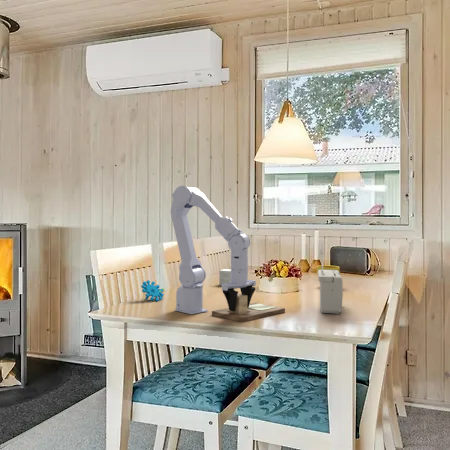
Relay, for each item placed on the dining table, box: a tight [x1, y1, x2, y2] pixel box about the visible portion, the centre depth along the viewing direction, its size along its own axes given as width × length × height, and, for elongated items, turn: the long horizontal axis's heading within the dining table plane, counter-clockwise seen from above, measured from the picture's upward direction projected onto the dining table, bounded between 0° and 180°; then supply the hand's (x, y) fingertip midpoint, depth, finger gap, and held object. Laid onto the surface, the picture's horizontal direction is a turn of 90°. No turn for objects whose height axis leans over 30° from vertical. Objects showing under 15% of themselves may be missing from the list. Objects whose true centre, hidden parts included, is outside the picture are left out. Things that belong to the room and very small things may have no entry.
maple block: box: [231, 293, 247, 314], centre depth 165 cm, size 4×4×7 cm
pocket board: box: [211, 302, 286, 323], centre depth 168 cm, size 14×22×2 cm, turn 134°
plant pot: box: [316, 264, 341, 283], centre depth 226 cm, size 10×10×10 cm
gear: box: [140, 280, 165, 302], centre depth 194 cm, size 11×6×10 cm
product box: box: [218, 268, 231, 287], centre depth 231 cm, size 6×6×7 cm
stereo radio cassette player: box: [317, 251, 344, 315], centre depth 178 cm, size 21×8×20 cm, turn 170°
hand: (239, 309), depth 165 cm, fingers open, 6 cm apart
